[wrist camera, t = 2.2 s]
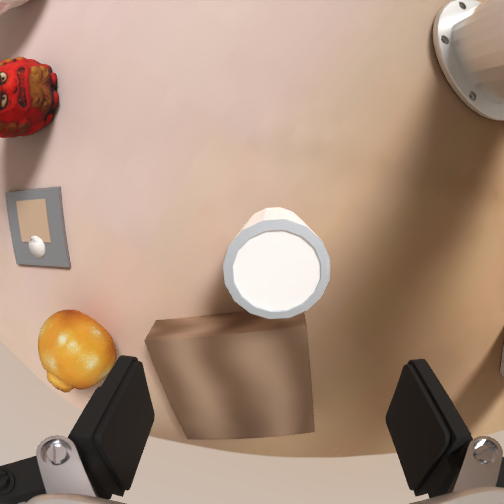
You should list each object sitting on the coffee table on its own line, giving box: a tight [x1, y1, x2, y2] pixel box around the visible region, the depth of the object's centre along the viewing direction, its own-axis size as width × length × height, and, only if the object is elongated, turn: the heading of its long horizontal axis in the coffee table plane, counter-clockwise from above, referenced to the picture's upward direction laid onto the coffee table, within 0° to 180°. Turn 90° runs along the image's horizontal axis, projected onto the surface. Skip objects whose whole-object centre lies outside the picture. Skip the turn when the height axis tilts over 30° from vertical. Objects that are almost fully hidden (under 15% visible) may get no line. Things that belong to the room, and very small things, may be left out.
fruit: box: [38, 310, 116, 392], centre depth 27 cm, size 8×8×8 cm
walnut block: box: [144, 311, 315, 439], centre depth 30 cm, size 14×14×4 cm
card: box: [6, 186, 71, 267], centre depth 27 cm, size 8×8×1 cm
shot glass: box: [223, 207, 330, 319], centre depth 23 cm, size 7×7×7 cm
